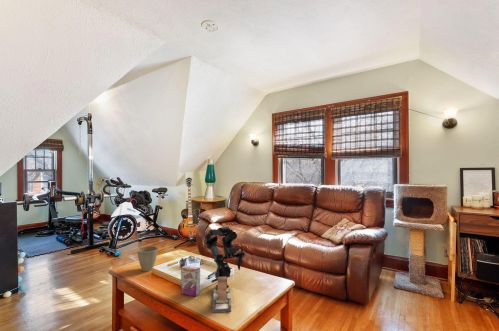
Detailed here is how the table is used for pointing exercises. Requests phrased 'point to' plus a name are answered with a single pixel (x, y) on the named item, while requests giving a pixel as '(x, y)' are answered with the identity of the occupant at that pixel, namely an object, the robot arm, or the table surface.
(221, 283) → the salmon pink rectangular block
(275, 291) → the table surface
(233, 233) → the robot arm
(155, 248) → the plant pot
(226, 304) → the track
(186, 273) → the candy bar box
